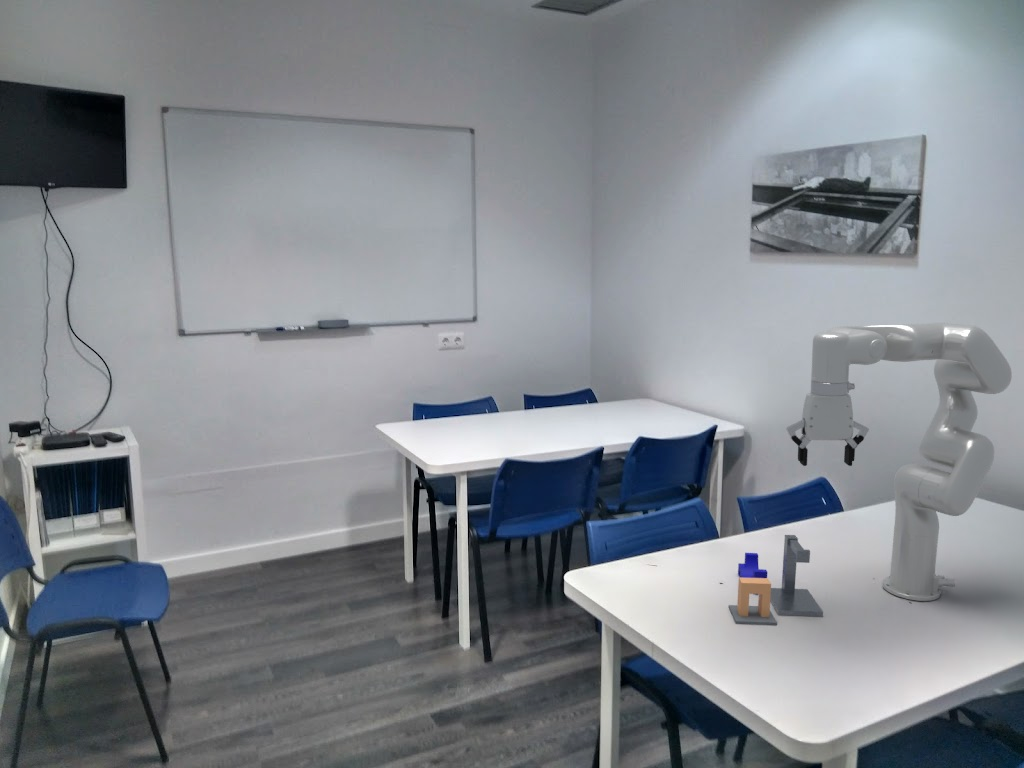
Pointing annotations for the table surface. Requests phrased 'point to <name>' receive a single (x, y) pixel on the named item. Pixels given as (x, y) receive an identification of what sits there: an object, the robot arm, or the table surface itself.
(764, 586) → the c link
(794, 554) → the stand
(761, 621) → the mat
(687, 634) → the table surface
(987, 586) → the table surface
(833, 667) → the table surface
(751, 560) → the blue toy block
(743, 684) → the table surface
